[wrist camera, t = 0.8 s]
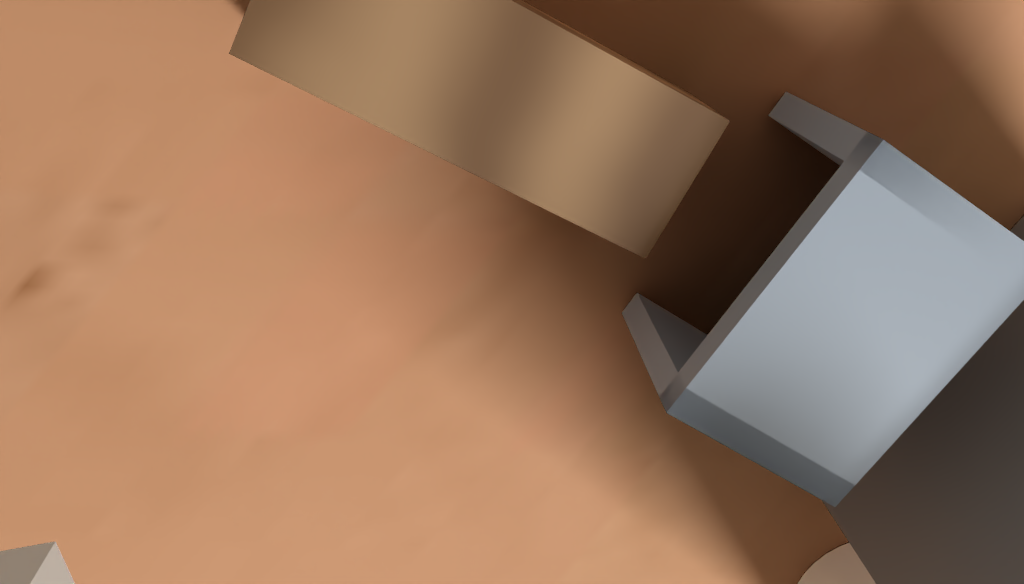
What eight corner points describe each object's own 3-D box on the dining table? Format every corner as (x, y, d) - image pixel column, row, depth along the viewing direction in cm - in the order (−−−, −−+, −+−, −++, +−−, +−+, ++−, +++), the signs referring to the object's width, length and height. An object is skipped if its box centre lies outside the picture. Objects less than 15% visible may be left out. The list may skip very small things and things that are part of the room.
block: (621, 312, 34) (666, 412, 27) (786, 91, 31) (883, 139, 24) (759, 394, 36) (835, 507, 29) (927, 192, 33) (1055, 264, 26)
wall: (801, 468, 37) (948, 695, 26) (1035, 202, 33) (1325, 338, 22) (842, 492, 38) (1003, 723, 27) (1077, 233, 34) (1379, 381, 23)
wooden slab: (262, 33, 29) (228, 53, 25) (322, -111, 28) (297, -118, 23) (617, 212, 33) (645, 259, 28) (688, 92, 31) (730, 120, 27)
